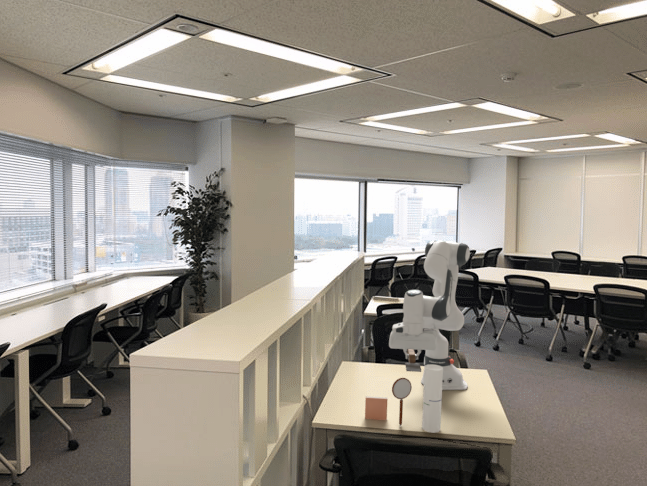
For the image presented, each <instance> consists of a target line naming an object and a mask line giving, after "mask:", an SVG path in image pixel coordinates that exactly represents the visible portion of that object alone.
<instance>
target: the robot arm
mask: <svg viewBox="0 0 647 486" xmlns="http://www.w3.org/2000/svg"><path fill="white" fill-rule="evenodd" d="M470 255H471V251H470V247H469V246H468V244H466V243H463V242H456V241H447V240H445V241H444V240H430V241H428V242H427V243H426V245H425V248H424V256H425V260H424V262H423V269H424V272H425V274H426V275H427V277H429V278H431V279H432V280H433V281H434V283H433V287H432V294H433V296H429V295H425V294H424V293H423V291H422V290H419V289H409V290H407V291H406V292H405V294H404V296H403V298H404V299H403V304H402V305H403V306H402V312H403V318H402V322H398V323H394V324H393V325H392V327H391V329H392V330H391V332H390V335H389V340H388V347H389V348H390V349H395V350H397V349H399V350H403V353H404V355H405V359H406V360H408V359H409V354H407V353H408V349H414V351H416V350H417V353H415V360H419V356H420V354H421V353H422V351H423V350H424V351H425V354H424V357H423V365H424V367H425V365H430V364H433V365H439V366H441V367H443V379H442V391H453V390H454V391H458V390H459V391H461V390H463V391H464V390H467V389H468V386H469V385H468V383H467V381H466V380H464V376H463V374H462V371H461V370H460V369H458V368H457V367H456V365H454V363H455V361H454V359H453V358H452V357H451V356H449V341H448V339H447V338H446V337H445V336H444V335H443V334H442V333H441V332H440V330H444V331H447V332H449V331H450V332H451V331H453V332H454V331H460V330H461V329H462V328H463V327H464V325H465V316H464V314H463V312H462V311H461V310H460V309H459V307H458V305H457V303H456V291H457V285H458V281H459V268H462V266H464V265H466V263H467V262H468V261H469V259H470ZM420 382H421V384H422V385H423V386H424V372H423V373H422V376H421V380H420Z"/></svg>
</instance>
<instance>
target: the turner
mask: <svg viewBox="0 0 647 486" xmlns="http://www.w3.org/2000/svg"><path fill="white" fill-rule="evenodd" d="M407 354H409V359H407V360H408V362H404V363H405V365H404V366H405V370H406V372H413V373H416V372H417V373H421V372H422V367H421V363H420V362H416V359H415V354H416V352H415V349H407Z"/></svg>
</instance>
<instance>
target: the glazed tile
mask: <svg viewBox="0 0 647 486" xmlns="http://www.w3.org/2000/svg"><path fill="white" fill-rule="evenodd" d="M364 402H365V405H364V406H365V410H364V420H378V421H379V420H380V421H387V419H388V397H383V396H382V397H381V396H368V395H366V396H365V401H364Z"/></svg>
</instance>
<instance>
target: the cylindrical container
mask: <svg viewBox="0 0 647 486" xmlns="http://www.w3.org/2000/svg"><path fill="white" fill-rule="evenodd" d="M423 373H424V385H423V391H422V392H423V394H422V397H423V398H422V418H421V419H422V421H421V429H422V430H424V431H425V432H427V433H439V432H440V431H441V421H442V398H443V390H442V379H443V367H441V366H439V365H433V364H430V365H425V367H424V368H423Z"/></svg>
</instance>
